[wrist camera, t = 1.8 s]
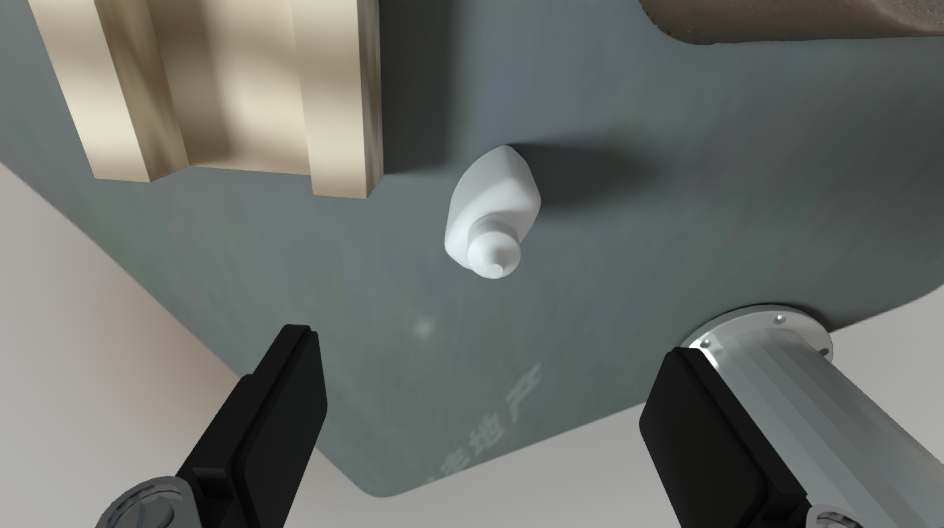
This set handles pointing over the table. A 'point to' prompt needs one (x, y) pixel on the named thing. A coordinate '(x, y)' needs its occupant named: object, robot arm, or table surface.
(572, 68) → the table surface
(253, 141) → the u rest
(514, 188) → the eye dropper bottle
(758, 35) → the pillar candle
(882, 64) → the table surface
